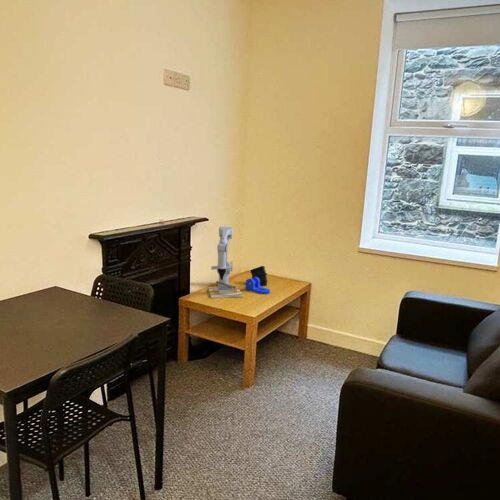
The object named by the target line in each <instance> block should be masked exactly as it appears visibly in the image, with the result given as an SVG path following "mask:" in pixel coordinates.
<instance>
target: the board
mask: <svg viewBox="0 0 500 500" xmlns="http://www.w3.org/2000/svg"><path fill="white" fill-rule="evenodd" d="M236 288H237V293H234V291H233V294H219V293H218V290H217V289H218V287H215V293H213V287H208V289H209V290H208V292H209V296H210V298H211V299H242V298H244V295H243V293H242V292H241V289H240V287H237V286H236ZM232 289H233V288H232Z"/></svg>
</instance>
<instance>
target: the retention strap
mask: <svg viewBox="0 0 500 500" xmlns="http://www.w3.org/2000/svg"><path fill="white" fill-rule="evenodd" d="M215 284H216V285H218V284H222V285H225V286H228V287H232V288H236V287H237V285H236V286H234V285H231V284H229V283H228V284H229V285H228V284H225V283H222V282H219V280H216V282H215Z"/></svg>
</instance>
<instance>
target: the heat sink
mask: <svg viewBox="0 0 500 500" xmlns="http://www.w3.org/2000/svg"><path fill="white" fill-rule="evenodd" d="M217 288H218V289H217V290H218V293H219V294H233V289H232V287H228V286H218V285H217Z"/></svg>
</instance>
